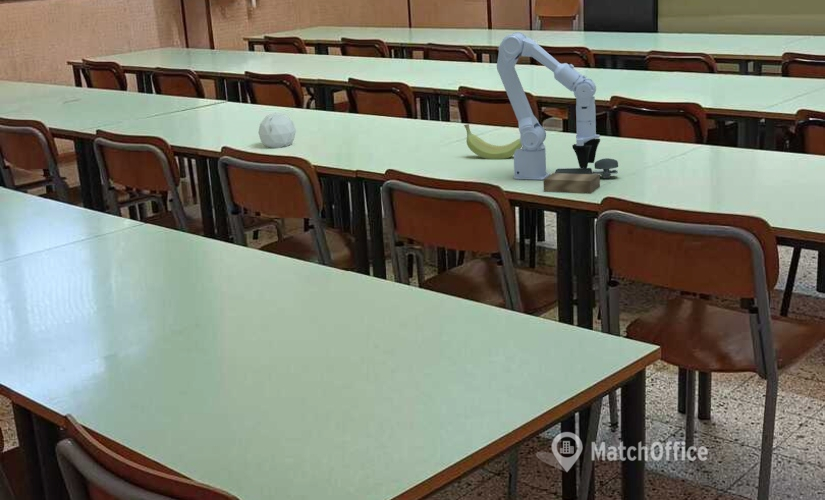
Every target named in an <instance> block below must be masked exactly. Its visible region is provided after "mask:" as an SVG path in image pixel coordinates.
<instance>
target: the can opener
mask: <svg viewBox="0 0 825 500" xmlns="http://www.w3.org/2000/svg"><path fill="white" fill-rule="evenodd" d="M618 167H619V161H618V160H616V159H613V158H601V159H599V160H597V161H594V170H592V169H593V168H591V167H587V168H580V167H578V168H576V167H574V168H573V167H572V168H571V167H568V168H567V167H566V168H557V169H556V170H555V171H554V173H569V174H597V175H601V176H602V178H603V179H608V178H610V177H611V175H616V174H618V170H617V169H616V168H618Z"/></svg>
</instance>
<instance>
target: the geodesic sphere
mask: <svg viewBox="0 0 825 500" xmlns="http://www.w3.org/2000/svg"><path fill="white" fill-rule="evenodd" d="M296 133H297V130H296V127H295V123H294V121H293V120H292V119H291V118H290V117H289V116H288V115H287V114H285V113H283V114H282V113H277V112H274V113H272V114H269V115H266V116H265V117H264V118H263V120H262V121H261V122H260V123H259V128H258V135H259V140H260V143H262V144H263V145H264V146H265V147H267V148H269V149H272V148H273V149H279V148H285V147H289V146H291V144H292V143H293V142H294V140H295V136H296Z"/></svg>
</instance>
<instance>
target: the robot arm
mask: <svg viewBox="0 0 825 500" xmlns="http://www.w3.org/2000/svg"><path fill="white" fill-rule="evenodd" d="M520 57H528V58H533V59H534V60H536V61H537V62H539V63H540V64H541V65H543V66H544V67H545V68H547V69H548V70H550V71H551V72H553V77H554V80H556V81H557V82H558V83H559V84H561V85H562V86H564V87H565V88H566V89H568V90H569V91H570V92H573V95H574V97H575V99H576V100H575V101H576V102H575V103H576V104H575V116H576V123H575V124H576V136H575V139H576V140H575V141H576V143H573V144H572V149H573V150H574V151H573V152H574V153H575V156H576V159H577V163H578V165H579V167H578V168H588V167H589V165H588V164H595V160H596V154H597V151H598V150H597V149H598V147H599V144H600V142H601V139H600V137H601V135H600V134H597V132H596V131H597V128H596V126H597V121H596V119H597V118H596V115H597V114H596V104H595V103H596V99H595V98H596V97H595V94H596V91H597V86H596V83H595V82H594V81H593V80H592V79H590V78H587V76H586V75H585V74H581V72H579V71H577V69H575V68H574V67H575V65H573V64H572V63H570V64H568V63H567V62H564V63H560V62H559V61H558V60H557V59H556V58H555V57H553V55H551V54H549V53H548V52H547V51H546V50H545V49H544V48H543V47H542V46H540V45H539V44H538V43H537V42H536V41H534V39H532V38H531V37H527V36H526V35H525V34H524V33H522V32H519V31H518V32H513V33H511V34H508V35H506V36H504V37H503V39H502V41H501V42H500V45H498V55H497V63H496V70H497V72H498V75H499V77H500V80H501V82H502V85H503V87H504V90H505V92H506V95H507V97H508V100H509V103H510V105H511V107H512V110H513V112H514V115H515V117H516V121H518V122H517V123H518V131H519V134H520V138H519V139H520V142H521V144H522V147H521V149H516V150H515V153H514V155H513V173H514V176H513V179H514V180H533V181H534V180H537V181H539V180H540V181H543V179H545V178H546V177H548V176H550V175H551V172H547V161H546V160H547V156H546V155H547V153H546V152H547V151H546V145H545V144H544V141H545V140H546V139H547V132H546V129H545V128H544V127H543V126H542V125H541V124H540V122H539V120H538V119H537V117H536V116H535V115H534V112H533V110H532V108H531V105H530V103H529V100H528V97H527V95H526V93H525V92H526V91H525V89H524V88H523V85H522V83H521V80H520V77H519V75H518V73H517V70H516V68H515V66H516V65H517V62H518V61H519V58H520Z"/></svg>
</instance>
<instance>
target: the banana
mask: <svg viewBox="0 0 825 500" xmlns="http://www.w3.org/2000/svg"><path fill="white" fill-rule="evenodd" d="M463 126H464V128H465V129H466V145H467V147H468V148H469V150H470V151H471V152H472V153H474V154H475V155H476V156H478V157H480V158H482V159H485V160H506V159H509V158H511V157H514V153H515V150H516V149H522V144H521V142H520V138H518V139H516V140H514V141H513V142H511V143H508V144H505V145H495V144H491V143H488V142H486V141H484V140H483V139H482V138H481V137H478V136H477V135H475V134H473V133H472V131H471V130H470V124H469V123H468V124H464V125H463Z"/></svg>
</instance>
